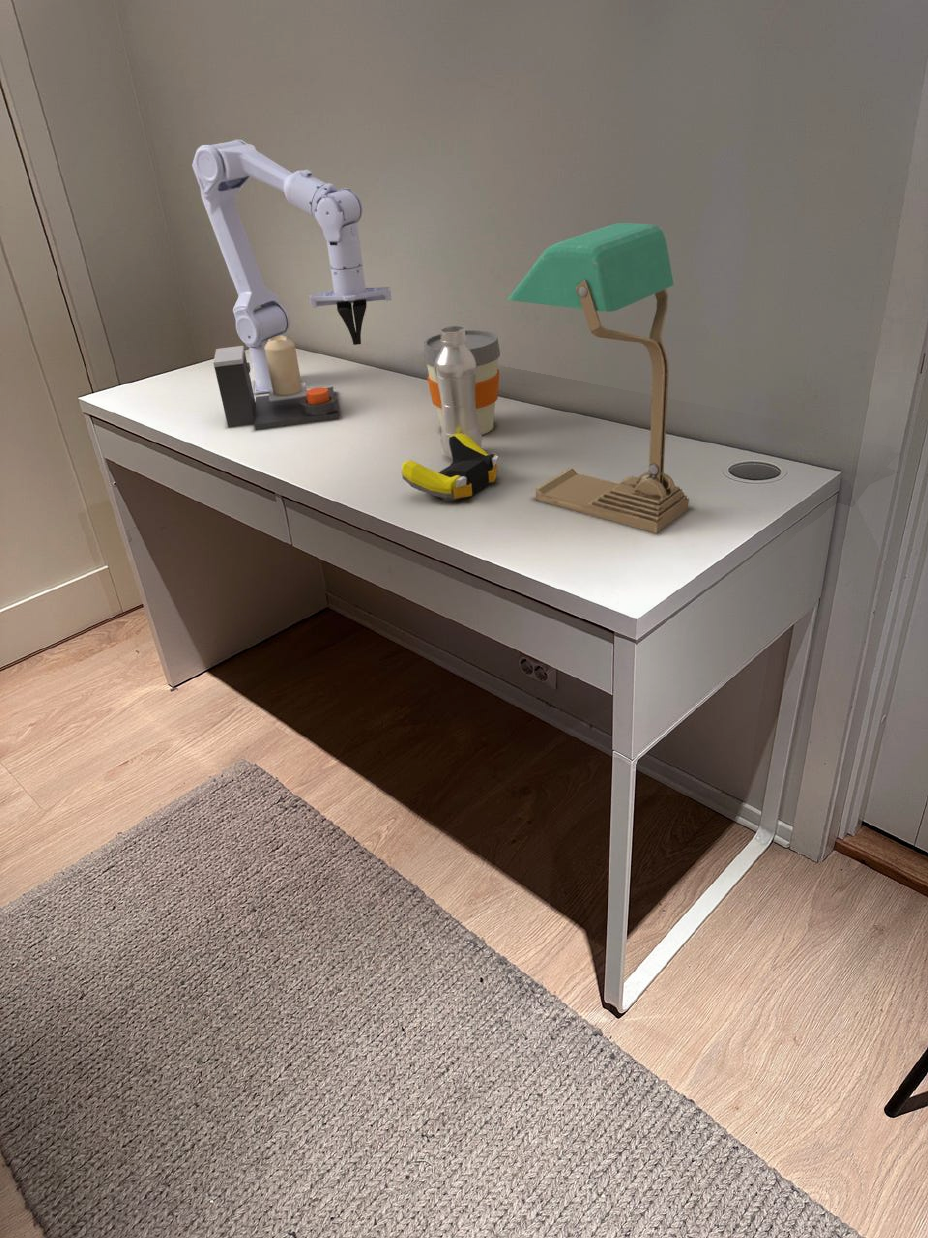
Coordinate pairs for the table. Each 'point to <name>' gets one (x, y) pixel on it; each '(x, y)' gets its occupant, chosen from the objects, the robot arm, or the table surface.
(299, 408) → the grey base plate
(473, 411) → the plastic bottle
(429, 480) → the gaming controller
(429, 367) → the reusable coffee cup
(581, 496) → the banker's lamp
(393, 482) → the table surface
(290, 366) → the candle
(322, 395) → the button
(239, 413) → the tower
